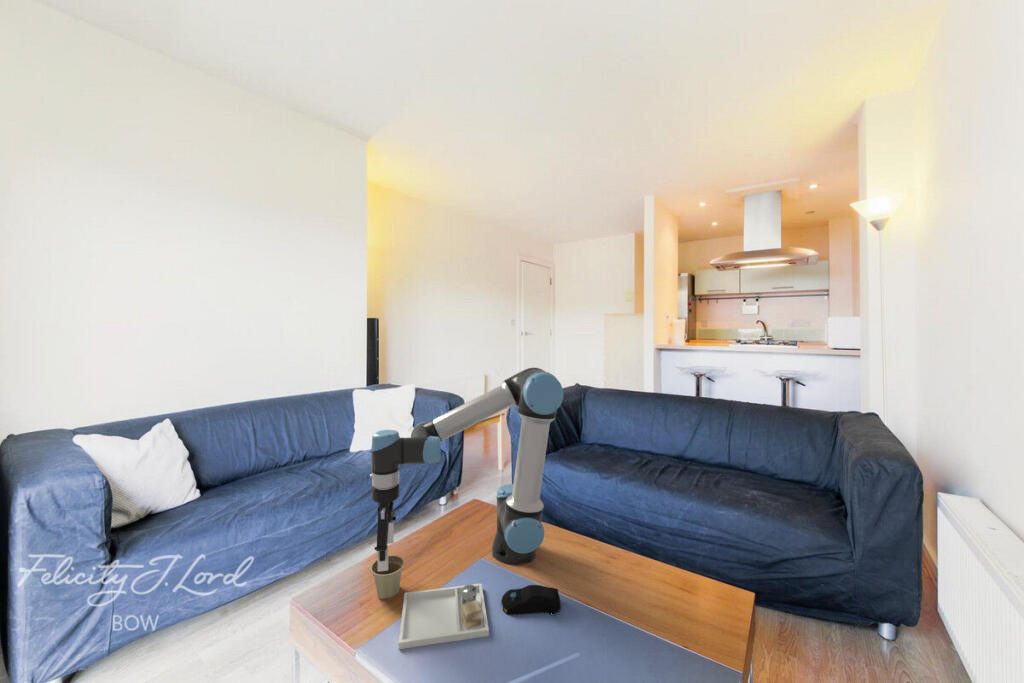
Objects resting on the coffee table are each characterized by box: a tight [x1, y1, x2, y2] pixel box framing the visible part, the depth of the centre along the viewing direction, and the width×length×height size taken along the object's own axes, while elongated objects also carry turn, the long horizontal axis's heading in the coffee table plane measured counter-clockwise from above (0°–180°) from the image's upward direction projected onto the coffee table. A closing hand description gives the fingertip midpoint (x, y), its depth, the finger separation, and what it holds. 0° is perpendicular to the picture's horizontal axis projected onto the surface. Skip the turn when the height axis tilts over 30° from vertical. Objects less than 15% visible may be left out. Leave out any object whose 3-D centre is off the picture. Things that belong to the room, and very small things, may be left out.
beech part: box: [461, 600, 481, 630], centre depth 106 cm, size 4×4×4 cm
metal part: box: [462, 584, 476, 604], centre depth 113 cm, size 4×4×4 cm
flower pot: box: [370, 554, 405, 600], centre depth 118 cm, size 9×9×9 cm
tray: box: [397, 582, 490, 650], centre depth 108 cm, size 22×18×2 cm
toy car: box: [501, 584, 562, 616], centre depth 112 cm, size 8×17×5 cm, turn 94°
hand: (386, 555), depth 117 cm, fingers open, 13 cm apart
